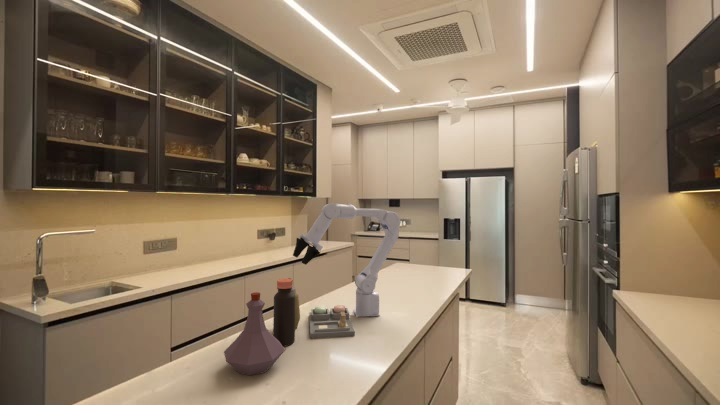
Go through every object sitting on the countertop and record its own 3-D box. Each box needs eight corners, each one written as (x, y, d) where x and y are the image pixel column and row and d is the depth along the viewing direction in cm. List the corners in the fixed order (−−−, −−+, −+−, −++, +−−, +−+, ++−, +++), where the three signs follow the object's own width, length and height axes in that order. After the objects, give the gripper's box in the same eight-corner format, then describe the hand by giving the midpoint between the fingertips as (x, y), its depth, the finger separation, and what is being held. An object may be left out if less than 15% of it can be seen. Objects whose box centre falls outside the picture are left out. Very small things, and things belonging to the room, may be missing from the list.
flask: (262, 348, 101) (263, 283, 101) (297, 364, 91) (298, 292, 91) (210, 368, 88) (211, 294, 89) (243, 390, 78) (244, 306, 78)
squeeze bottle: (304, 326, 119) (305, 277, 120) (291, 334, 112) (291, 281, 112) (286, 322, 123) (287, 275, 123) (272, 330, 116) (273, 279, 116)
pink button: (344, 310, 129) (344, 305, 129) (345, 313, 125) (346, 308, 125) (333, 310, 128) (333, 305, 128) (334, 314, 124) (334, 309, 124)
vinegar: (268, 344, 103) (269, 281, 104) (281, 336, 110) (281, 277, 110) (287, 348, 101) (288, 283, 101) (298, 339, 108) (299, 279, 108)
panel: (346, 314, 133) (346, 305, 133) (354, 335, 111) (354, 325, 111) (309, 316, 131) (309, 307, 131) (310, 338, 109) (310, 327, 109)
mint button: (325, 310, 128) (325, 305, 128) (326, 314, 124) (326, 309, 124) (314, 311, 127) (314, 306, 127) (314, 315, 123) (314, 309, 123)
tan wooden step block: (346, 322, 119) (346, 311, 119) (348, 328, 114) (348, 315, 114) (337, 323, 118) (338, 311, 118) (339, 328, 113) (339, 316, 113)
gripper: (302, 220, 132) (283, 249, 130) (320, 231, 121) (300, 263, 119) (314, 228, 137) (296, 256, 135) (332, 239, 126) (313, 270, 124)
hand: (299, 260), depth 127 cm, fingers open, 7 cm apart
